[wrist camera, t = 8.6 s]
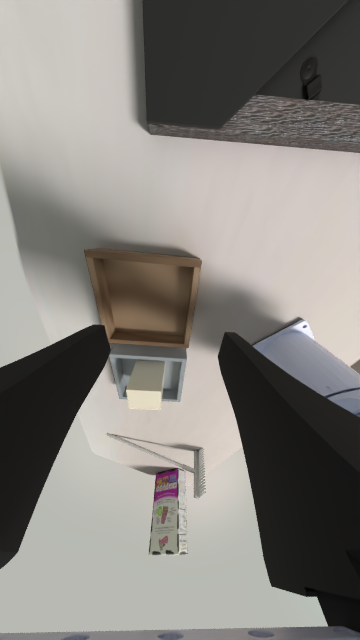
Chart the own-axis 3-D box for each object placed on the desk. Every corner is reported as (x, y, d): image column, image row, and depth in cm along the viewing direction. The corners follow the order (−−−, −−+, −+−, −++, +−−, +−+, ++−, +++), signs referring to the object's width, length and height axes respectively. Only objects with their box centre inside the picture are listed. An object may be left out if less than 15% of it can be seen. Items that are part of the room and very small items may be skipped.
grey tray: (180, 389, 27) (180, 401, 25) (124, 386, 26) (119, 398, 24) (186, 347, 21) (186, 359, 19) (115, 342, 21) (108, 354, 19)
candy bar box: (164, 475, 56) (158, 555, 42) (155, 473, 54) (147, 555, 40) (186, 470, 53) (188, 555, 39) (178, 467, 51) (177, 555, 37)
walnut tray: (187, 337, 20) (188, 348, 18) (113, 331, 20) (106, 342, 18) (198, 258, 15) (201, 261, 13) (97, 248, 14) (83, 249, 12)
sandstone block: (164, 379, 24) (160, 410, 20) (138, 378, 24) (129, 408, 20) (165, 361, 22) (161, 391, 18) (136, 359, 22) (125, 389, 17)
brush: (120, 409, 40) (99, 448, 31) (203, 446, 42) (205, 493, 33) (117, 416, 41) (95, 456, 33) (197, 452, 43) (198, 499, 34)
